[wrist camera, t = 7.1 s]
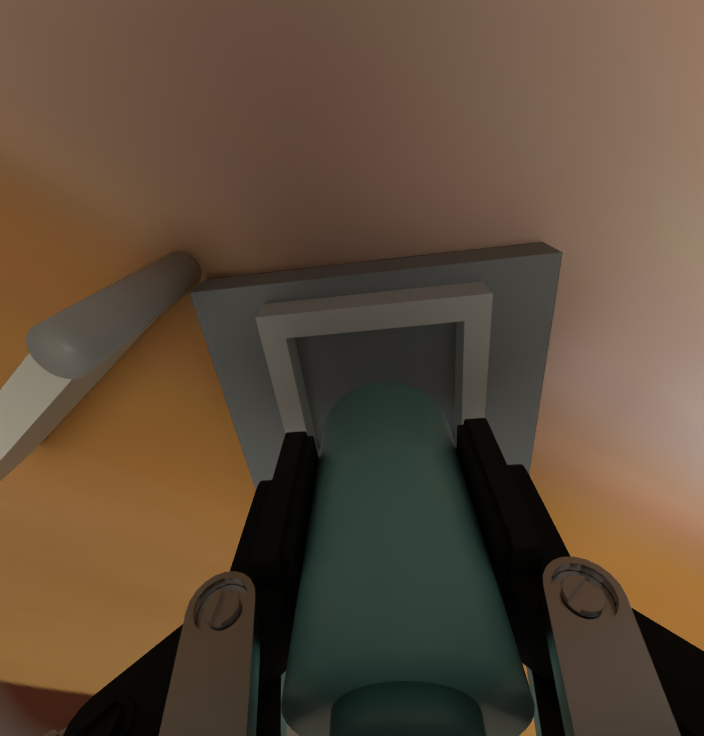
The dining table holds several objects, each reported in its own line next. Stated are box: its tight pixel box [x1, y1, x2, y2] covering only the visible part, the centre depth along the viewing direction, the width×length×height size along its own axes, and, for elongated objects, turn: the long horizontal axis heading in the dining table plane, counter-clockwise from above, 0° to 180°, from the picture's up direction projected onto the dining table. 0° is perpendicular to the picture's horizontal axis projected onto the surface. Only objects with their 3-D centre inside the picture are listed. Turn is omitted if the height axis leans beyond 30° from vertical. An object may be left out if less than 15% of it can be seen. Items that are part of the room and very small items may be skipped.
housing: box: [190, 242, 562, 489], centre depth 16 cm, size 16×12×3 cm
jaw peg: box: [281, 382, 535, 736], centre depth 9 cm, size 4×4×8 cm
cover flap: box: [0, 252, 200, 481], centre depth 13 cm, size 13×1×6 cm, turn 132°
